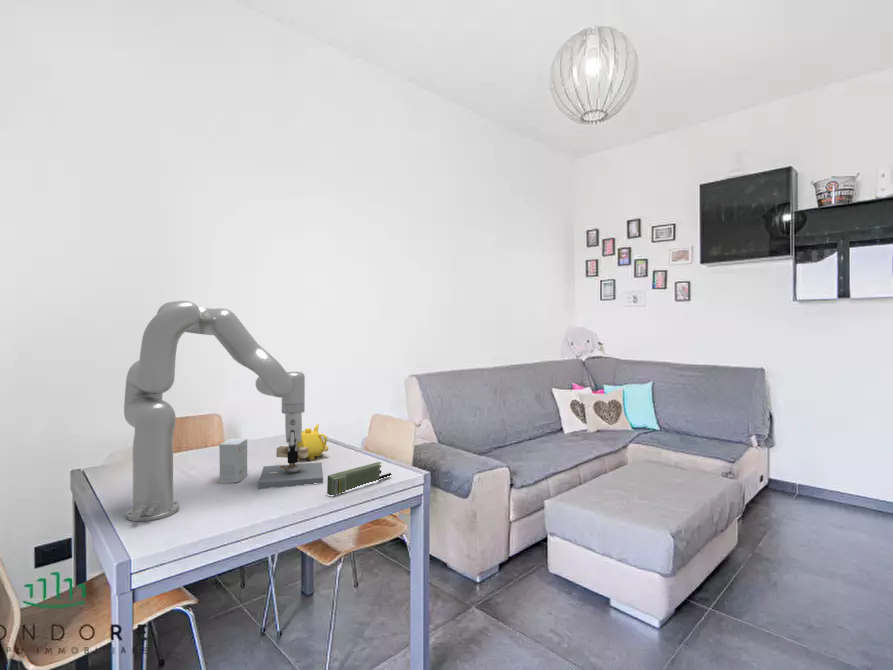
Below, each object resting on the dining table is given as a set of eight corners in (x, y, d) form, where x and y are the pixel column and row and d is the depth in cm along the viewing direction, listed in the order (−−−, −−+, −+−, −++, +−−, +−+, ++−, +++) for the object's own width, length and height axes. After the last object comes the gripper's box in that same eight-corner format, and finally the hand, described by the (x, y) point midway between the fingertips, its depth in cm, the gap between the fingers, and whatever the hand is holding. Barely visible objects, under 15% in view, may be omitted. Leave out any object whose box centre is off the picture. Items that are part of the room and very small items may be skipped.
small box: (229, 475, 163) (229, 438, 163) (247, 475, 163) (247, 438, 163) (218, 483, 155) (218, 444, 155) (238, 483, 155) (238, 444, 155)
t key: (309, 469, 164) (309, 446, 163) (303, 473, 159) (303, 450, 158) (281, 468, 165) (282, 445, 165) (275, 472, 160) (275, 449, 160)
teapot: (318, 465, 176) (319, 435, 176) (280, 464, 177) (281, 433, 177) (336, 451, 196) (337, 424, 195) (302, 450, 197) (302, 422, 197)
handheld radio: (325, 495, 146) (387, 477, 164) (331, 498, 144) (393, 479, 162) (326, 474, 146) (387, 458, 164) (332, 477, 143) (394, 460, 162)
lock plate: (322, 483, 156) (322, 477, 156) (258, 488, 150) (258, 482, 150) (321, 467, 173) (321, 461, 173) (263, 471, 168) (263, 465, 168)
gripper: (304, 411, 154) (303, 467, 155) (304, 403, 170) (304, 453, 171) (279, 412, 152) (279, 468, 152) (283, 404, 168) (282, 454, 169)
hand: (292, 460), depth 162 cm, fingers closed on t key, 4 cm apart
